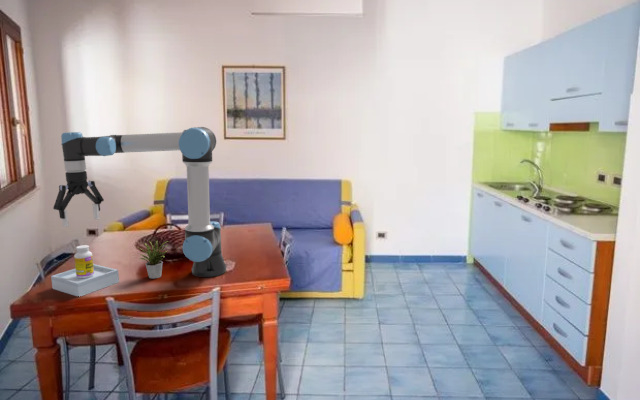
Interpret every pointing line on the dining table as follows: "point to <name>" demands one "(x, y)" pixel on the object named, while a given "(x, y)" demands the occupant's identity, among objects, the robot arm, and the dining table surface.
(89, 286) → the shallow open tray
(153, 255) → the house plant
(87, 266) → the supplement bottle
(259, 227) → the dining table surface
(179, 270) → the dining table surface
